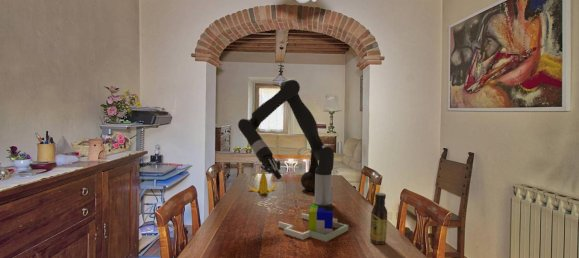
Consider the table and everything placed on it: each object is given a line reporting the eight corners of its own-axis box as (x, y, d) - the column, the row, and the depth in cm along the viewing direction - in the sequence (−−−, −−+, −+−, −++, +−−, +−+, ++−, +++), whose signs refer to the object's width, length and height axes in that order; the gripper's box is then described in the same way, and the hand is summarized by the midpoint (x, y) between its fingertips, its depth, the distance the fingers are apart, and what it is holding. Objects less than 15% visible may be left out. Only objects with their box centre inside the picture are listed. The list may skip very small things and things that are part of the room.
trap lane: (271, 229, 141) (271, 224, 141) (307, 215, 162) (308, 211, 162) (319, 245, 125) (319, 239, 125) (353, 227, 146) (353, 222, 146)
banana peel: (265, 196, 198) (265, 169, 197) (247, 190, 212) (247, 165, 211) (285, 192, 209) (285, 167, 209) (266, 187, 223) (267, 163, 223)
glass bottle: (329, 188, 224) (330, 148, 222) (323, 194, 207) (324, 150, 206) (304, 186, 229) (305, 146, 228) (297, 191, 213) (298, 149, 211)
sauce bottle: (367, 239, 132) (369, 191, 132) (382, 239, 133) (384, 191, 132) (373, 245, 126) (375, 195, 125) (388, 245, 126) (390, 195, 126)
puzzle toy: (332, 236, 134) (332, 213, 134) (308, 234, 136) (308, 211, 136) (332, 228, 144) (333, 206, 144) (310, 226, 146) (310, 205, 145)
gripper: (256, 146, 156) (274, 175, 149) (274, 145, 166) (292, 171, 159) (248, 156, 159) (266, 185, 152) (266, 154, 170) (284, 181, 162)
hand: (279, 178), depth 156 cm, fingers closed
